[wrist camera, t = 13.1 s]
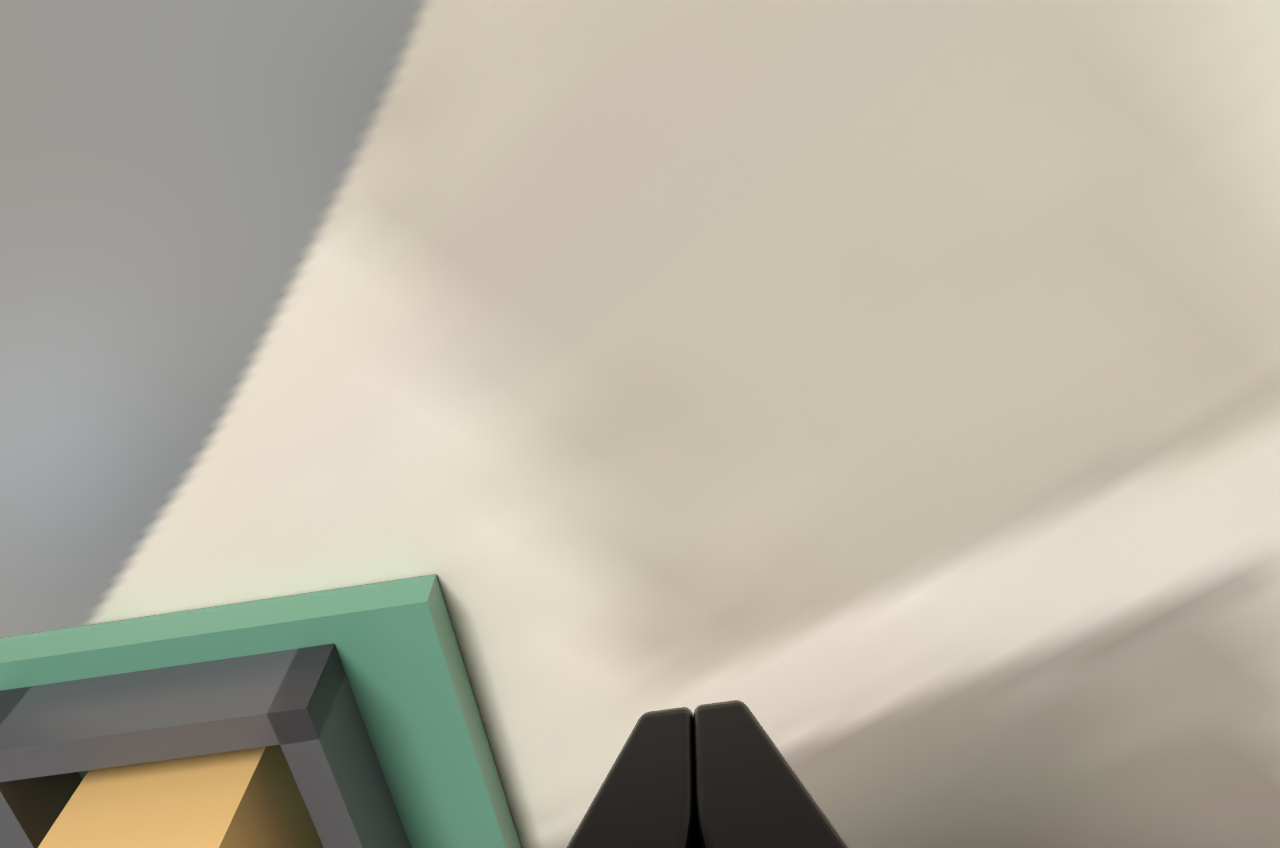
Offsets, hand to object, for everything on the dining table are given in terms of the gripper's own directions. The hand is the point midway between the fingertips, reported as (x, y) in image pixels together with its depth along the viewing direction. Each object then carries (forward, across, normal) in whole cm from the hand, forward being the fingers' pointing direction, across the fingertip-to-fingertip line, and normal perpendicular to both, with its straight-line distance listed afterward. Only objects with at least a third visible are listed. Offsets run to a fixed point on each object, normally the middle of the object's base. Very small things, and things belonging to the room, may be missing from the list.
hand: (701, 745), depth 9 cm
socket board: (+12, +12, +11) cm, 20 cm away
